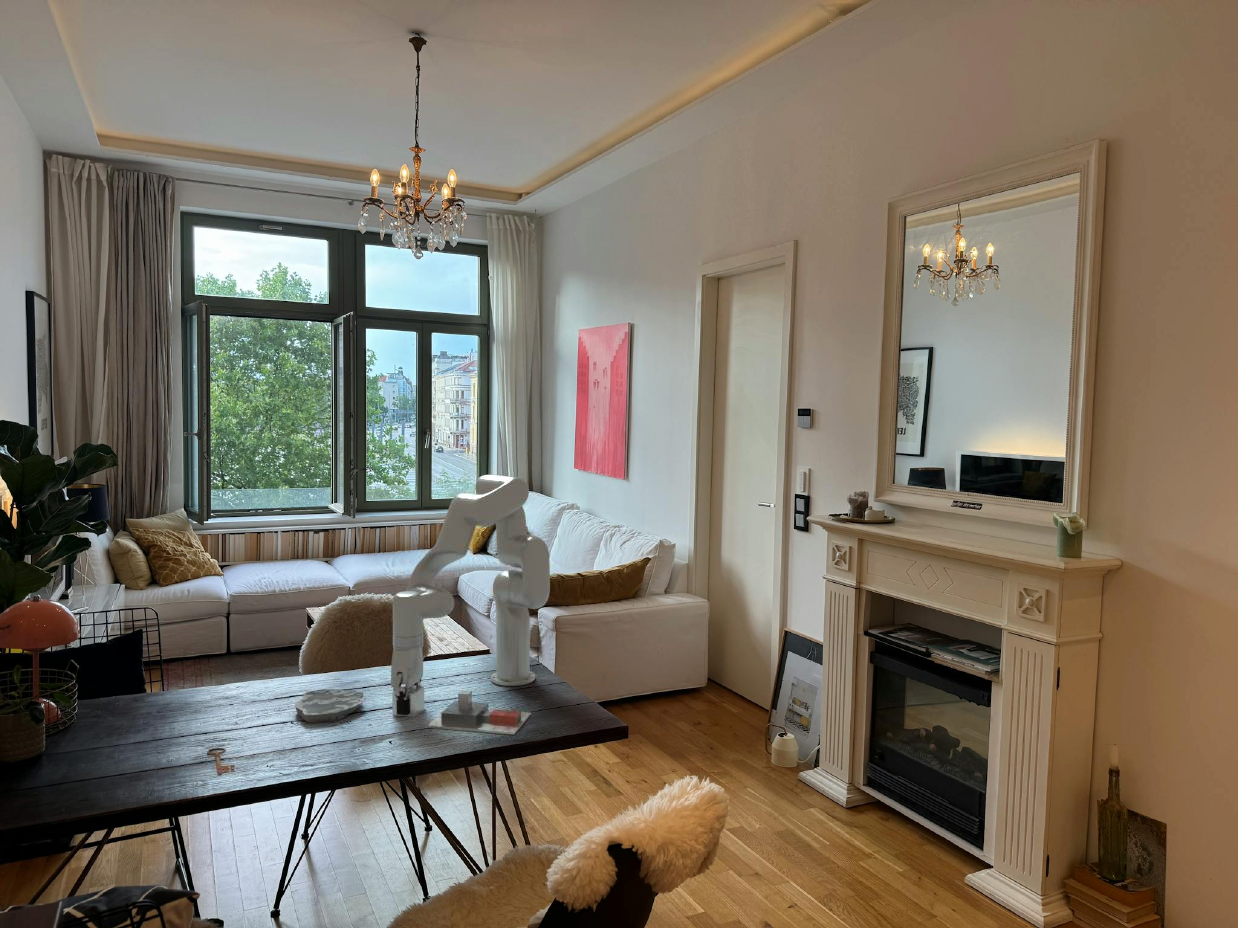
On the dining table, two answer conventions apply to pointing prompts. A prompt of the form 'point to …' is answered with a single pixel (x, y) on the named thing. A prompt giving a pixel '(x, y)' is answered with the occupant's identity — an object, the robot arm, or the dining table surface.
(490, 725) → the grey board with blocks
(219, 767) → the key
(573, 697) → the dining table surface
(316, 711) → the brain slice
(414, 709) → the light grey cube
